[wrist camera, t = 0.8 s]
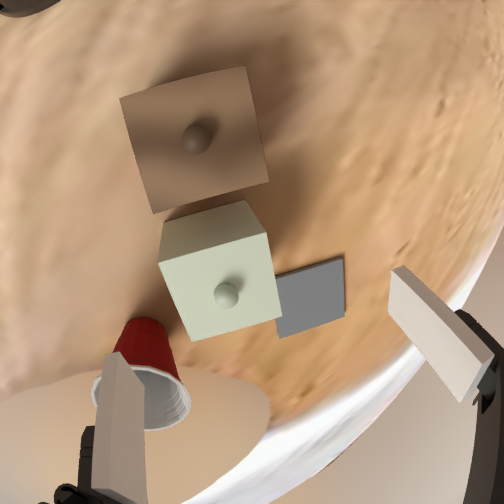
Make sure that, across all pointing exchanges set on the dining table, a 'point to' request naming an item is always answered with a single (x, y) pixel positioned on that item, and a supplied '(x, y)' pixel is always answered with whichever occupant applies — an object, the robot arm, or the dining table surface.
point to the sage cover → (219, 270)
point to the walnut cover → (195, 138)
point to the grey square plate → (310, 297)
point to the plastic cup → (152, 373)
